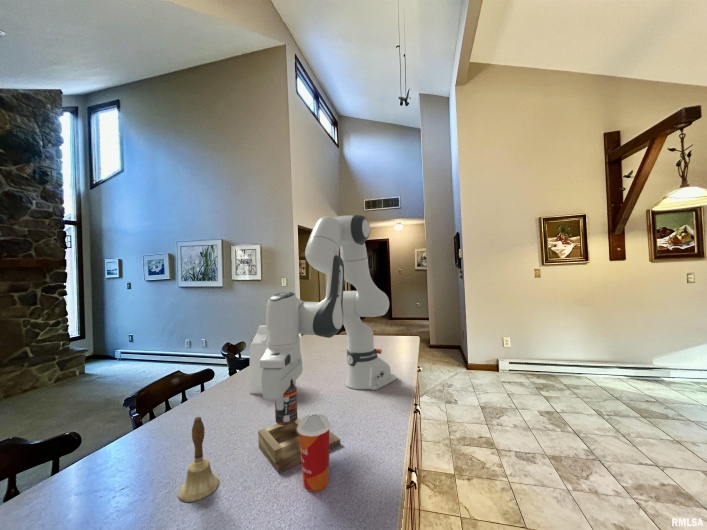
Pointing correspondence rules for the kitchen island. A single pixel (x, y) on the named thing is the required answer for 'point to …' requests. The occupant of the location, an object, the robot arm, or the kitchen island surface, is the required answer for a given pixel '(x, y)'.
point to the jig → (285, 445)
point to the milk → (257, 359)
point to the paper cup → (314, 451)
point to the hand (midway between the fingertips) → (285, 402)
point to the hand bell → (198, 470)
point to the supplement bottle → (288, 407)
